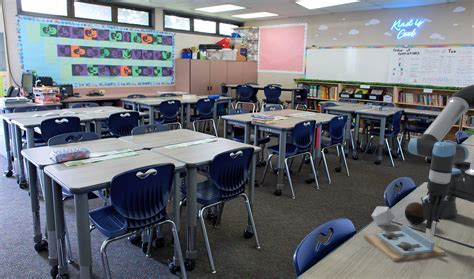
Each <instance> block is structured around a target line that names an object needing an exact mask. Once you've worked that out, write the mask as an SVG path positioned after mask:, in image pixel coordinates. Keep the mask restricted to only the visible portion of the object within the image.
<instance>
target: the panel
mask: <svg viewBox="0 0 474 279" xmlns="http://www.w3.org/2000/svg"><path fill="white" fill-rule="evenodd" d="M400 229H401V230H398V231H396V230H395V231H392V232H393V233H395V234H396V236H403V237H397V239H393V240H388V239H387V238H385V237H384V236H385V232H377V233H375V235H376V236H377V237H378V238H380V239H381V240H383V241H384V242H385V243H387V244H388V245H389V246H391V247H392V248H394V249H395V250H396V251H398V252H399V253H400V254H402V255H410V254H418V253H426V252H433V249H434V245H435V242H434V241H433V240H431V239H429V237H427V236H424V235H423V234H421V233H419V232H418V231H416V230H414V229H413V228H411V227H410V226H408V225H407V224H401V228H400ZM401 242H407V243H410V244H411V245H412V247H416V246H419V247H420V248H413V250H411V251H404V250H402V249H401V248H400V247H401V246H400V243H401Z"/></svg>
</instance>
